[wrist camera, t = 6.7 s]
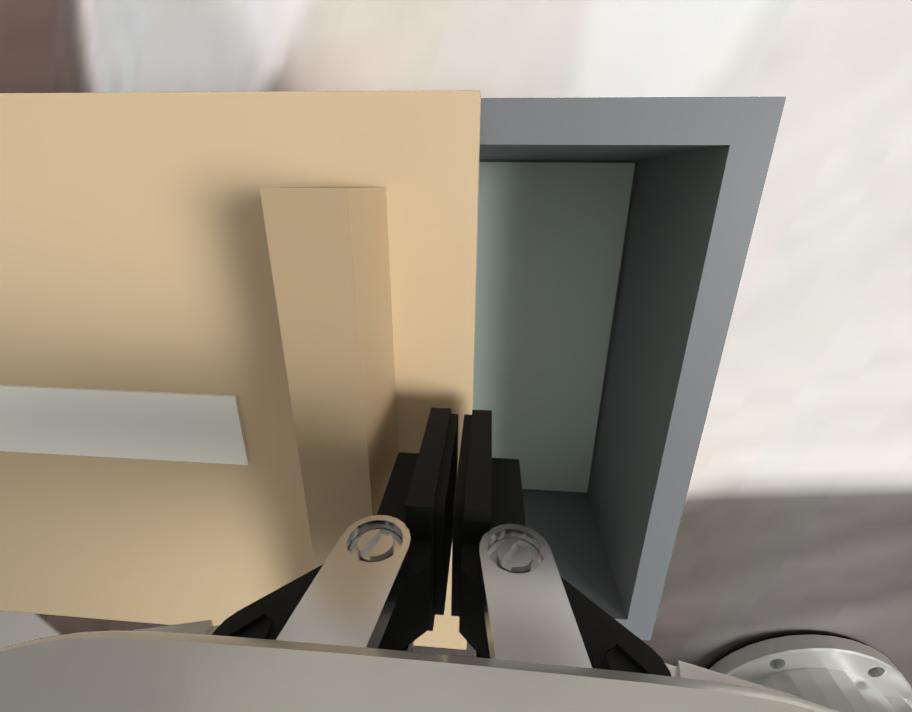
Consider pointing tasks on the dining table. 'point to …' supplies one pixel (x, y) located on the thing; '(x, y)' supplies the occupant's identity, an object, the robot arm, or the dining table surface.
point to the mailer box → (611, 314)
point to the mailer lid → (222, 335)
